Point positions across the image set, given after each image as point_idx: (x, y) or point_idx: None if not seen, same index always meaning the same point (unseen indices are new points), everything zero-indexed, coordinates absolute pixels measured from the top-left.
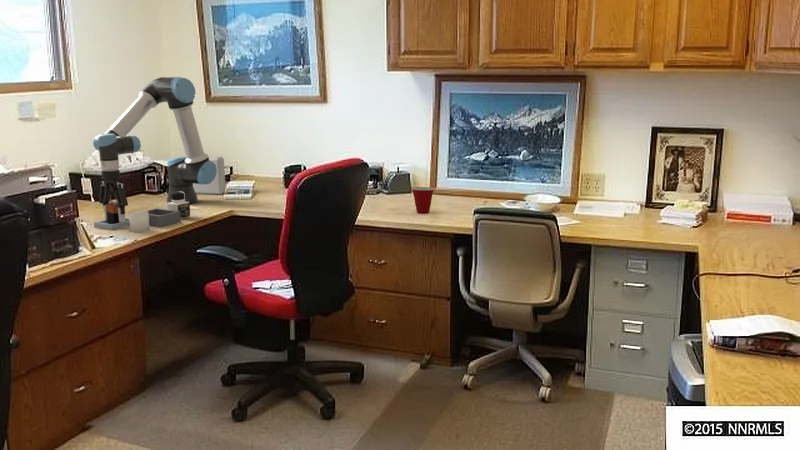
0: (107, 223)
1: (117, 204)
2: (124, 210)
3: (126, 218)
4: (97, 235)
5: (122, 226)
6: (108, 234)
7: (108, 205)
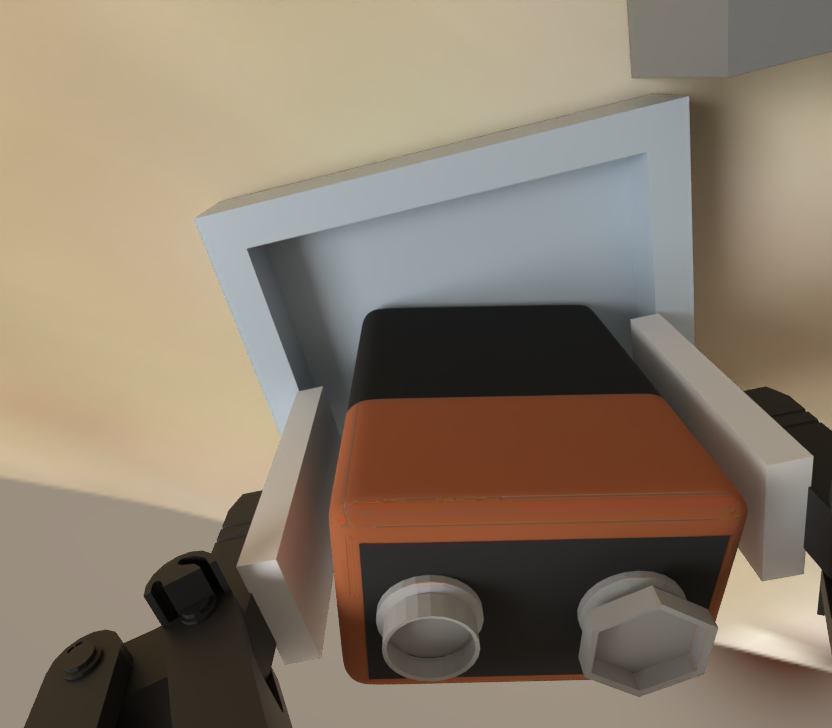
0: (336, 416)
1: (679, 582)
2: (821, 434)
3: (458, 190)
4: (744, 647)
5: None
6: (812, 579)
7: (492, 674)
